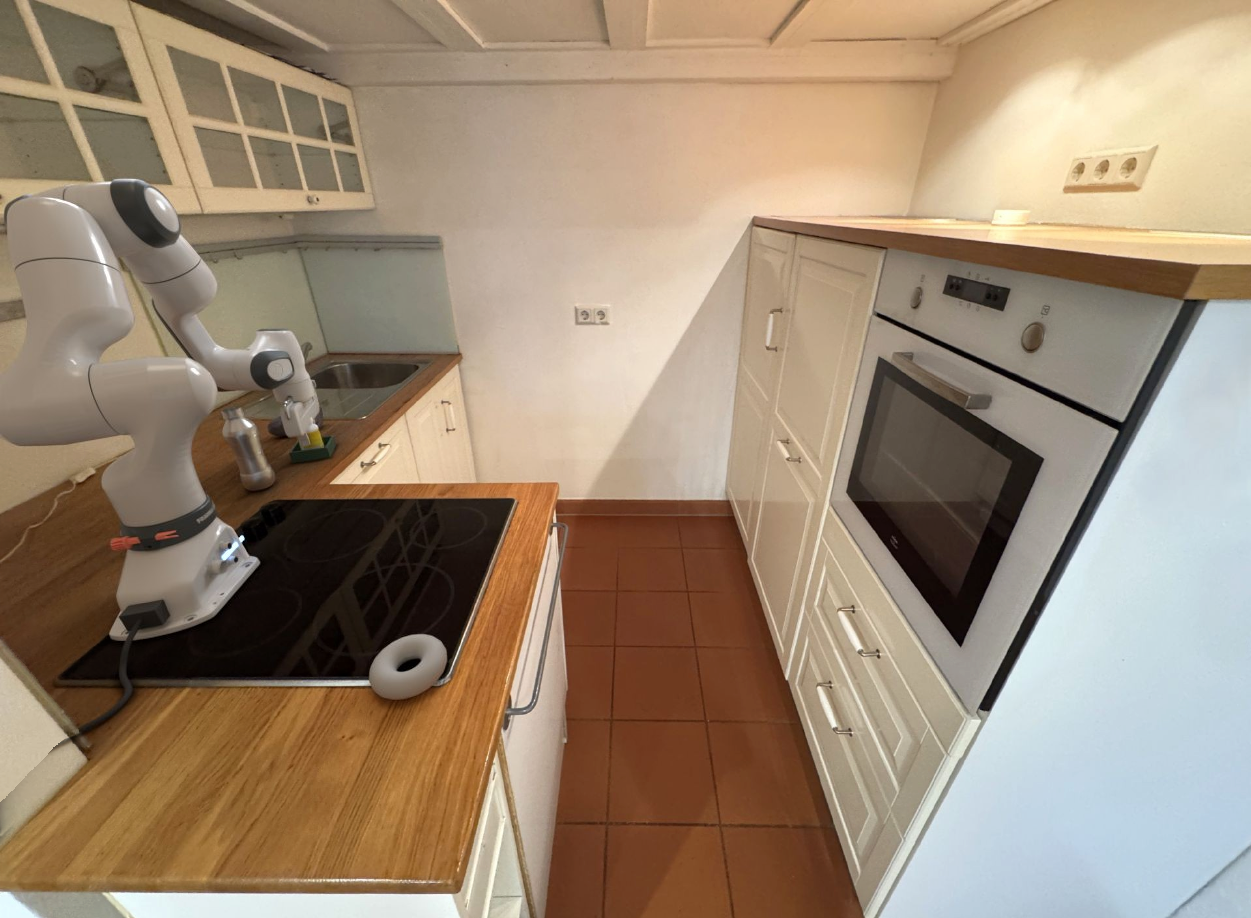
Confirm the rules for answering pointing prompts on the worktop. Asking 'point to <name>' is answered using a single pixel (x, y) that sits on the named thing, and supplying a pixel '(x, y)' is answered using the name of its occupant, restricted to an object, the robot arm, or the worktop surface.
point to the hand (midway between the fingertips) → (310, 440)
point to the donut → (414, 680)
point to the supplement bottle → (313, 437)
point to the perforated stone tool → (278, 430)
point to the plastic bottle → (247, 449)
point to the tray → (313, 451)
